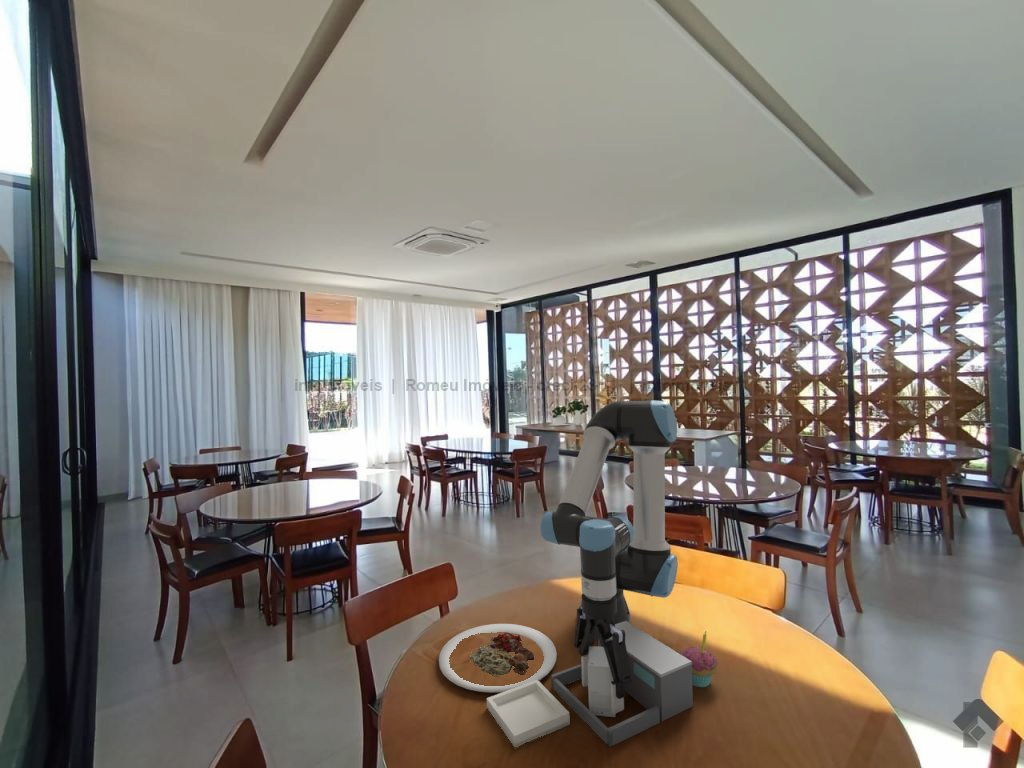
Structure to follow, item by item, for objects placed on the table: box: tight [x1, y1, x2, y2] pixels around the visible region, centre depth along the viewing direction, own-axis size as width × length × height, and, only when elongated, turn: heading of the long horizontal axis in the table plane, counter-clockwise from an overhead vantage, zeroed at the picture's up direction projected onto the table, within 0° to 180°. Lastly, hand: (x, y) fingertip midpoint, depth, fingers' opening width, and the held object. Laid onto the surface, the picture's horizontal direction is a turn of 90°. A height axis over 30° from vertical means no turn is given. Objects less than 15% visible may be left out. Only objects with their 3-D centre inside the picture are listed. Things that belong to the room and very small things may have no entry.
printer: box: [550, 621, 694, 748], centre depth 105 cm, size 21×23×10 cm
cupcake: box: [678, 630, 718, 688], centre depth 109 cm, size 9×8×12 cm
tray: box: [486, 680, 571, 748], centre depth 99 cm, size 13×13×2 cm
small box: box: [587, 645, 617, 718], centre depth 103 cm, size 8×6×10 cm
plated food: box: [438, 623, 558, 694], centre depth 121 cm, size 30×30×3 cm
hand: (602, 696), depth 103 cm, fingers closed on small box, 9 cm apart
